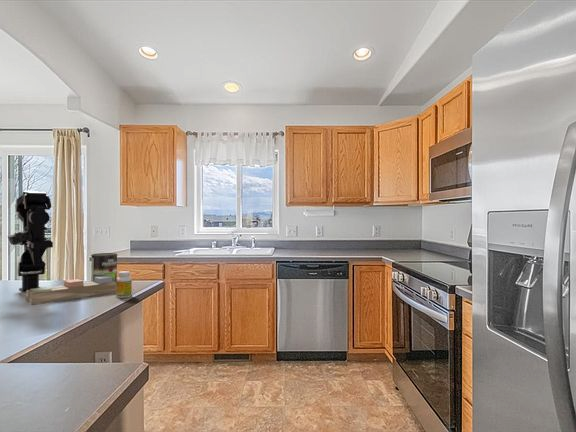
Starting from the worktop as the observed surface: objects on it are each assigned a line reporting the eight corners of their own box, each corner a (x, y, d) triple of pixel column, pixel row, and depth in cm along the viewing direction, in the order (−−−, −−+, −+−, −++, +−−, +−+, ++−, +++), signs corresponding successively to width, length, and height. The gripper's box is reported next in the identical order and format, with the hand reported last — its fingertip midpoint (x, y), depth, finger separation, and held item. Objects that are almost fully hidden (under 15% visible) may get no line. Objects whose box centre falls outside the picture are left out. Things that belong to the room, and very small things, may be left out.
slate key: (94, 286, 148) (94, 277, 148) (106, 285, 152) (106, 275, 152) (99, 288, 145) (99, 278, 145) (112, 286, 149) (112, 277, 149)
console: (25, 301, 131) (26, 290, 131) (108, 288, 154) (108, 279, 154) (32, 304, 127) (32, 293, 127) (115, 291, 149) (116, 282, 149)
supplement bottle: (125, 298, 138) (125, 273, 138) (113, 297, 139) (113, 272, 139) (134, 295, 143) (134, 271, 143) (122, 294, 144) (122, 270, 144)
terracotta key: (64, 291, 140) (64, 280, 140) (78, 289, 144) (78, 279, 144) (69, 293, 137) (69, 282, 137) (83, 291, 140) (83, 280, 140)
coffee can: (121, 285, 161) (122, 254, 161) (99, 289, 152) (99, 256, 152) (108, 282, 167) (108, 252, 166) (85, 286, 158) (86, 254, 158)
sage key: (30, 299, 132) (30, 288, 131) (46, 297, 135) (46, 286, 135) (34, 302, 128) (34, 291, 128) (50, 299, 132) (51, 289, 132)
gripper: (3, 223, 138) (3, 264, 139) (17, 225, 126) (16, 270, 127) (37, 223, 147) (37, 261, 147) (53, 225, 135) (53, 267, 135)
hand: (35, 265), depth 139 cm, fingers closed
